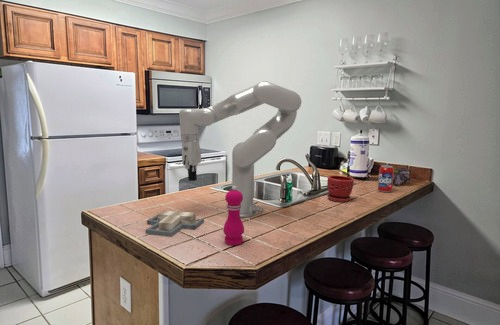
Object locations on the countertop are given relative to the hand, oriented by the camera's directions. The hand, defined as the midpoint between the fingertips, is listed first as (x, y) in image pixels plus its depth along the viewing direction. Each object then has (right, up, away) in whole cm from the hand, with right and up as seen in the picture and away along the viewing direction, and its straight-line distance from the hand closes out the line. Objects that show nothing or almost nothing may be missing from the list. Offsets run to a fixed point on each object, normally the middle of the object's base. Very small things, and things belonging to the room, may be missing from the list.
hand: (192, 180), depth 143 cm
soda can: (+104, -9, +50) cm, 116 cm away
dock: (-6, -17, -15) cm, 24 cm away
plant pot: (+72, -12, +29) cm, 79 cm away
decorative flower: (+121, -7, +70) cm, 140 cm away
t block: (-5, -17, -15) cm, 23 cm away
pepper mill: (+19, -20, -29) cm, 40 cm away
